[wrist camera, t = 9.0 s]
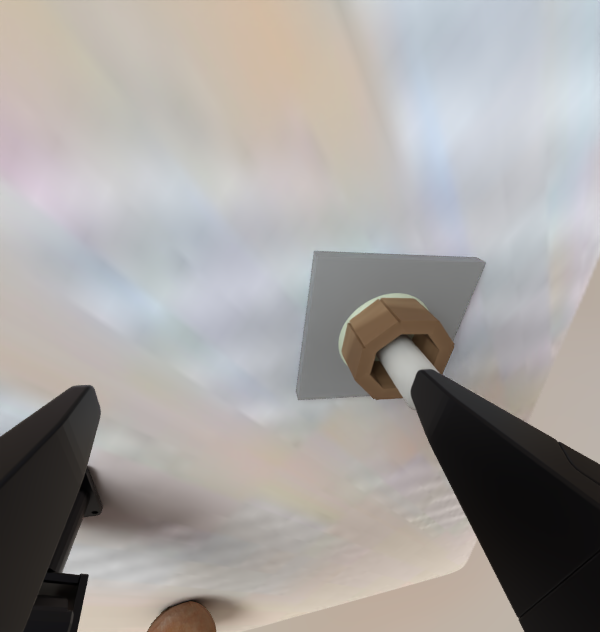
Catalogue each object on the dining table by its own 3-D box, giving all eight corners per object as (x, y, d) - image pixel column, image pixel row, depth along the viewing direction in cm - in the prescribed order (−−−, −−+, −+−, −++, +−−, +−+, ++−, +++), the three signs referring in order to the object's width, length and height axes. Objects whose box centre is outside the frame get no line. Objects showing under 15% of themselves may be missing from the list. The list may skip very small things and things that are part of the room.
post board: (425, 383, 28) (476, 451, 22) (295, 391, 26) (315, 469, 20) (476, 257, 22) (564, 304, 16) (314, 251, 20) (349, 303, 14)
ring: (412, 369, 25) (432, 396, 23) (336, 372, 24) (348, 401, 21) (438, 298, 22) (465, 320, 20) (353, 297, 21) (369, 320, 18)
